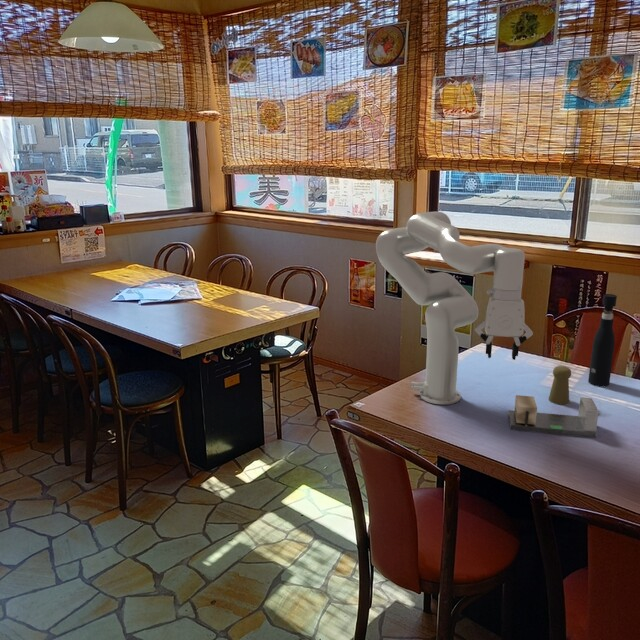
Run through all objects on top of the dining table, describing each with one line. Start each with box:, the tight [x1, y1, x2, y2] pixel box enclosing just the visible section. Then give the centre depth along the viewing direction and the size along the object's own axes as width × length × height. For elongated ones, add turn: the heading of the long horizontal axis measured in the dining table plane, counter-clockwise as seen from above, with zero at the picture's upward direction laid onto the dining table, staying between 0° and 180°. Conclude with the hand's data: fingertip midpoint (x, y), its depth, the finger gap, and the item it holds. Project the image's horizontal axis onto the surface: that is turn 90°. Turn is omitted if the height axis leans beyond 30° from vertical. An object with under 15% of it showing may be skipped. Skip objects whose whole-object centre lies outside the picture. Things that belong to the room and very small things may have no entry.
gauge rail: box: [507, 397, 599, 438], centre depth 169 cm, size 22×10×8 cm, turn 77°
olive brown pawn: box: [548, 365, 572, 406], centre depth 185 cm, size 6×6×11 cm
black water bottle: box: [587, 293, 618, 388], centre depth 196 cm, size 6×6×30 cm
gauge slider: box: [513, 394, 538, 425], centre depth 170 cm, size 5×9×5 cm, turn 167°
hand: (501, 356), depth 168 cm, fingers open, 5 cm apart
